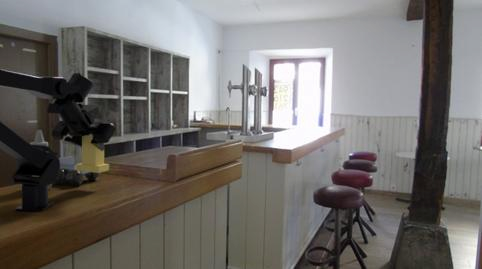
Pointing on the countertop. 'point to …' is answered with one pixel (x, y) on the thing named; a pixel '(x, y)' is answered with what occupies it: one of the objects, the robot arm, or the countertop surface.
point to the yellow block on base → (91, 157)
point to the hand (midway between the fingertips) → (96, 149)
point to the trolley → (73, 172)
